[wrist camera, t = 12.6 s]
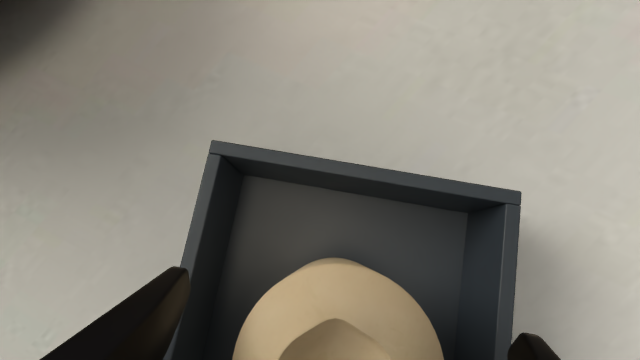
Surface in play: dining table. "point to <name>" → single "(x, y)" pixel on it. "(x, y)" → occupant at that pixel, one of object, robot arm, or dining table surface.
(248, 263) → the dark gray square tray
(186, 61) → the dining table surface
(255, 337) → the candle
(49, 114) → the dining table surface
